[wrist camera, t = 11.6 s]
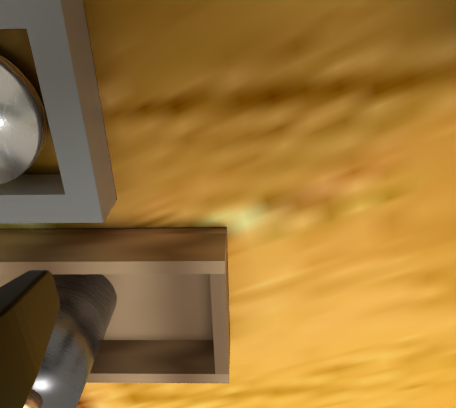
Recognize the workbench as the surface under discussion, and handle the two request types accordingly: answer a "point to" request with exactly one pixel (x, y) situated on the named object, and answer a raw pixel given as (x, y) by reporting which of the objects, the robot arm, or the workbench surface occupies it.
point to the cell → (73, 339)
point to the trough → (143, 296)
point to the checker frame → (62, 119)
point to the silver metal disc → (19, 122)
